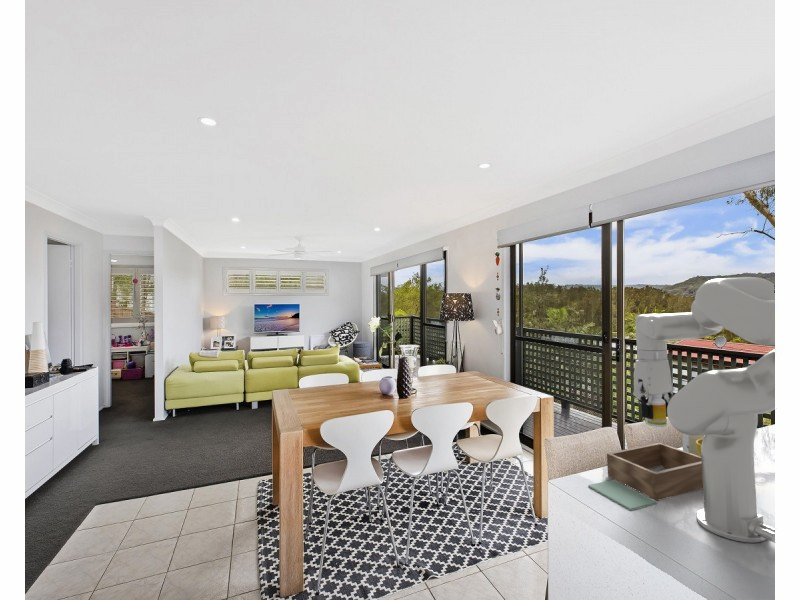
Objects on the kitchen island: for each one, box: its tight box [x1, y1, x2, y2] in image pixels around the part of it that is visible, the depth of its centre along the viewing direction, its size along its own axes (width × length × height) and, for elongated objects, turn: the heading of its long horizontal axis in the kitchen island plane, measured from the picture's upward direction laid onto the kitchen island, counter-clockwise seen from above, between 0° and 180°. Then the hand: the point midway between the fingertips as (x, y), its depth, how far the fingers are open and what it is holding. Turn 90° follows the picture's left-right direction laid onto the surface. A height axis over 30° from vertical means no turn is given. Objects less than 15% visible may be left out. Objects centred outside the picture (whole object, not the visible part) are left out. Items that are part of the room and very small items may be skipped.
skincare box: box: [682, 433, 705, 456], centre depth 126 cm, size 6×4×12 cm
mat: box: [587, 479, 658, 511], centre depth 107 cm, size 14×9×1 cm, turn 18°
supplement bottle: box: [644, 394, 668, 428], centre depth 114 cm, size 5×5×10 cm
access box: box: [606, 442, 703, 502], centre depth 114 cm, size 16×22×7 cm
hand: (655, 415), depth 114 cm, fingers closed on supplement bottle, 5 cm apart
